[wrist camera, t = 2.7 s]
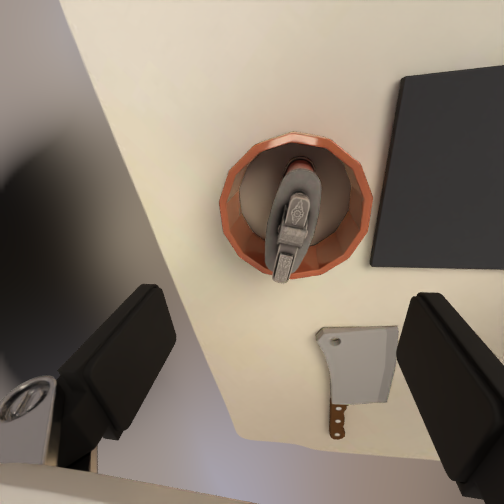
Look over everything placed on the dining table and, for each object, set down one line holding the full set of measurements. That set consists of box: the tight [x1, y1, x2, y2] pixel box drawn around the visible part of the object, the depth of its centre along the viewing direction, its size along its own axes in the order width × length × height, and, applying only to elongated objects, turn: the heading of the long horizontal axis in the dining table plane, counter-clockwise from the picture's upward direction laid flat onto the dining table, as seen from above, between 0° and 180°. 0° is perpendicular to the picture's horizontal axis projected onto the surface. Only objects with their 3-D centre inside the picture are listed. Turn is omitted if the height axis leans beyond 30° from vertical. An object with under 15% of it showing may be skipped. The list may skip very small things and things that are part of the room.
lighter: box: [265, 157, 322, 283], centre depth 19 cm, size 8×3×10 cm, turn 171°
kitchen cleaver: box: [316, 326, 399, 439], centre depth 34 cm, size 24×1×10 cm
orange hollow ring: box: [219, 131, 373, 279], centre depth 21 cm, size 12×12×5 cm
